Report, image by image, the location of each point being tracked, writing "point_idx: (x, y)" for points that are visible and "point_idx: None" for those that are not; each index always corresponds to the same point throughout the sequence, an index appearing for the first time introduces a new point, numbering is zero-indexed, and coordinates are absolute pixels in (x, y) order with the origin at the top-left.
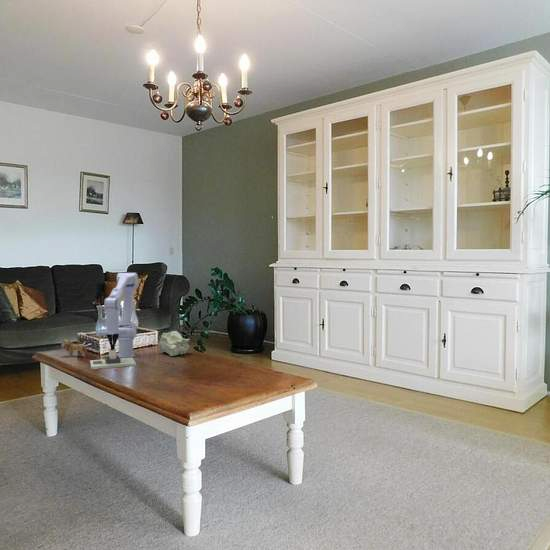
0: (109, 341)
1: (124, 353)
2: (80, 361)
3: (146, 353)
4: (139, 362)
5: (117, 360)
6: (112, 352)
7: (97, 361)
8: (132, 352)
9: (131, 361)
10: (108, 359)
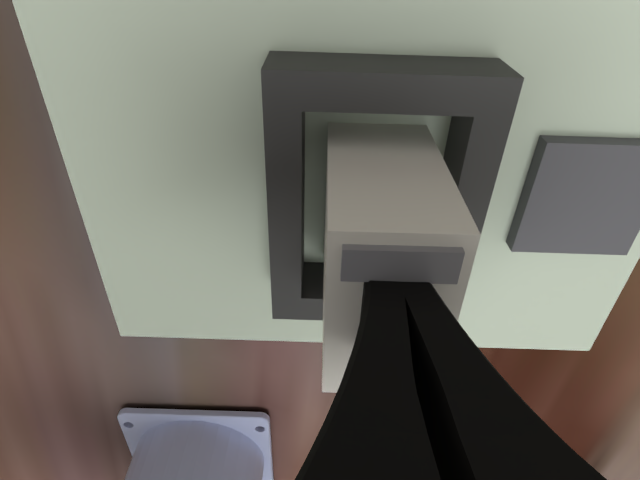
0: (579, 462)
1: (207, 450)
2: (625, 403)
3: (35, 474)
4: (10, 153)
5: (316, 62)
6: (409, 207)
7: (581, 219)
8: (130, 463)
9: (94, 107)
10: (475, 105)
